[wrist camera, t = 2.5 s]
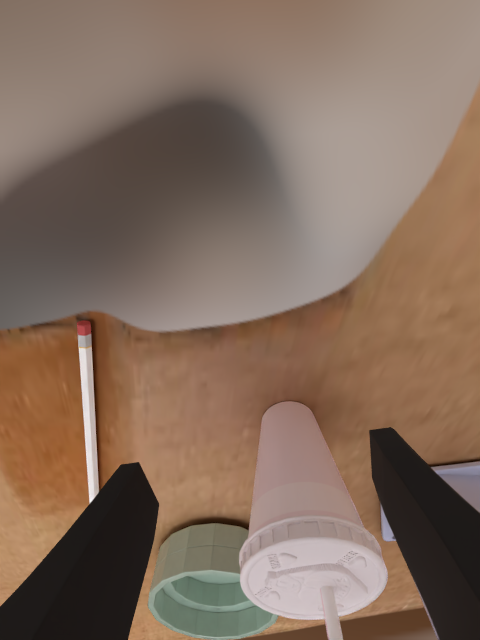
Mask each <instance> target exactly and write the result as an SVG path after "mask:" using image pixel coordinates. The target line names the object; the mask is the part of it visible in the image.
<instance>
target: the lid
mask: <svg viewBox="0 0 480 640" xmlns="http://www.w3.org/2000/svg"><path fill="white" fill-rule="evenodd" d="M248 534H249V530H247V529H245V528H242V527H240V526H233V525H226V524H219V523H211V524H201V525H192V526H189V527H187V528H184V529H182V530H180V531H177V532H175V533H173V534H171V535H170V536H169V537H168V538H167V540H166V541H165V542H164V543H163V544H162V545H161V546H160V549H159V554H158V558H157V562H156V566H155V571H154V575H153V579H152V583H151V588H150V592H149V599H148V608H149V609H150V611H151V613H152V614H153V616H154V617H155V619H156V620H157V621H159V622H160V623H162V624H163V625H165V626H166V627H168V628H169V629H171V630H173V631H176V632H179V633H182V634H185V635H188V636H191V637H194V638H203V639H211V640H227V639H240V638H244V637H247V636H251V635H254V634H258V633H260V632H262V631H264V630H265V629H267V628H268V627H270V626H271V625H273V624H274V623H275V622H276V620H277V618H278V616H279V615H276V614H272V613H270V612H268V611H265V610H263V609H261V608H260V607H258V606H257V605H255V604H254V603H253V602H252V601H251V600H250V599H248V598H247V596H246V595H245V594H244V592H243V590H242V588H241V584H240V565H239V552H240V550H241V548H242V546H243V544H244V542H245V540H247V539H248Z"/></svg>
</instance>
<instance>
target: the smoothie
mask: <svg viewBox="0 0 480 640" xmlns="http://www.w3.org/2000/svg"><path fill="white" fill-rule="evenodd" d="M239 565H240V584H241V588H242V590H243V592H244V594H245V595H246V596H247V598H248V599H250V600H251V601H252V602H253V603H254V604H255V605H257V606H258V607H260V608H261V609H263V610H265V611H268V612H270V613H272V614H276V615H279V616H283V617H287V618H293V619H304V620H318V619H325V623H326V629H327V635H328V640H343V637H342V631H341V626H340V621H339V616H343V615H347V614H350V613H353V612H355V611H358V610H360V609H362V608H364V607H366V606H367V605H369V604H370V603H372V602H373V601H374V600H375V599H377V597H378V596H379V595H380V594H381V593H382V592H383V590H384V588H385V586H386V583H387V579H388V573H387V569H386V566H385V563H384V560H383V558H382V554H381V547H380V545H379V543H378V542H377V540H376V538H375V537H374V536H373V535H372V534H371V533H370V532H369V531H367V530H366V529H365V528H364V526H363V524H362V521H361V519H360V517H359V514H358V512H357V510H356V507H355V505H354V503H353V501H352V499H351V497H350V495H349V492H348V490H347V488H346V486H345V484H344V481H343V479H342V477H341V475H340V472H339V470H338V468H337V466H336V464H335V461H334V459H333V457H332V455H331V452H330V450H329V448H328V446H327V444H326V441H325V439H324V437H323V435H322V432H321V430H320V428H319V426H318V424H317V421H316V419H315V417H314V415H313V413H312V411H311V410H310V409H309V408H308V407H307V406H305V405H303V404H301V403H298V402H293V401H285V402H280V403H277V404H275V405H273V406H271V407H270V408H269V409H268V410H267V411H266V412H265V413H264V415H263V418H262V423H261V432H260V440H259V449H258V457H257V466H256V474H255V483H254V491H253V500H252V508H251V515H250V524H249V534H248V539H247V540H245V542H244V544H243V546H242V548H241V550H240V552H239Z"/></svg>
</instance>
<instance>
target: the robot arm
mask: <svg viewBox="0 0 480 640" xmlns="http://www.w3.org/2000/svg"><path fill="white" fill-rule="evenodd" d="M369 431H370V448H371V465H372V479H373V482H374V485H375V488H376V491H377V494H378V497H379V500H380V506H381V533H382V537H383V539H384V540H385V541H397V544H398V546H399V548H400V550H401V552H402V555H403V557H404V559H405V561H406V563H407V566H408V568H409V570H410V572H411V575H412V577H413V579H414V582H415V584H416V587H417V589H418V592H419V594H420V597H421V599H422V602H423V604H424V607H425V609H426V612H427V614H428V617H429V619H430V622H431V624H432V627H433V629H434V632H435V634H436V637H437V639H438V640H480V461H478V462H470V463H461V464H453V465H445V466H436V467H430V466H429V465H428V464H427V463H426V462H425V461H424V460H423V459H422V458H421V457H420V456H419V455H418V454H417V453H416V452H415V451H414V450H413V449H412V448H411V447H410V446H409V445H408V444H407V443H406V442H405V441H404V439H403V438H402V437H401V436H400V435H399V434H398V433H397V432H396V431H395V430H394V429H393V428H391V427H389V428H382V429H375V430H369ZM158 509H159V503H158V501H157V499H156V496H155V494H154V492H153V490H152V488H151V486H150V484H149V482H148V480H147V478H146V476H145V474H144V472H143V470H142V468H141V466H140V464H139V462H137V463H129V464H122V465H120V467H119V468H118V469H117V470H116V471H115V473H114V474H113V475H112V476H111V478H110V479H109V480H108V481H107V483H106V484H105V485H104V486H103V488H102V489H101V490H100V492H99V493H98V494H97V495H96V497H95V498H94V499H93V500H92V502H91V503H90V504H89V505H88V507H87V508H86V509H85V510H84V512H83V513H82V514H81V515H80V517H79V518H78V519H77V520H76V522H75V523H74V524H73V525H72V526H71V528H70V529H69V530H68V531H67V533H66V534H65V535H64V536H63V537H62V539H61V540H60V541H59V542H58V543H57V544H56V546H55V547H54V548H53V549H52V550H51V551H50V552H49V554H48V555H47V556H46V557H45V558H44V559H43V561H42V562H41V563H40V564H39V565H38V566H37V568H36V569H35V570H34V571H33V572H32V573H31V574H30V576H29V577H28V578H27V579H26V580H25V581H24V582H23V583H22V584H21V585H20V586H19V588H18V589H17V590H16V591H15V592H14V593H13V594H12V595H11V596H10V597H9V598H8V599H7V600H6V601H5V602H4V603H3V604H2V605H1V606H0V640H128V637H129V632H130V628H131V625H132V621H133V617H134V613H135V610H136V606H137V602H138V598H139V595H140V591H141V587H142V583H143V580H144V576H145V572H146V568H147V565H148V561H149V557H150V553H151V549H152V545H153V541H154V536H155V530H156V523H157V516H158Z"/></svg>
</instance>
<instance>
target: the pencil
mask: <svg viewBox="0 0 480 640" xmlns="http://www.w3.org/2000/svg"><path fill="white" fill-rule="evenodd" d="M77 330H78V344H79V358H80V373H81V387H82V401H83V416H84V430H85V444H86V459H87V473H88V487H89V502H90V503H91V502H92V500H93V499H94V498H95V497H96V495H97V494H98V493H99V483H98V463H97V442H96V422H95V402H94V382H93V361H92V341H91V324H90V321H85V320H83V321H79V322H77Z"/></svg>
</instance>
